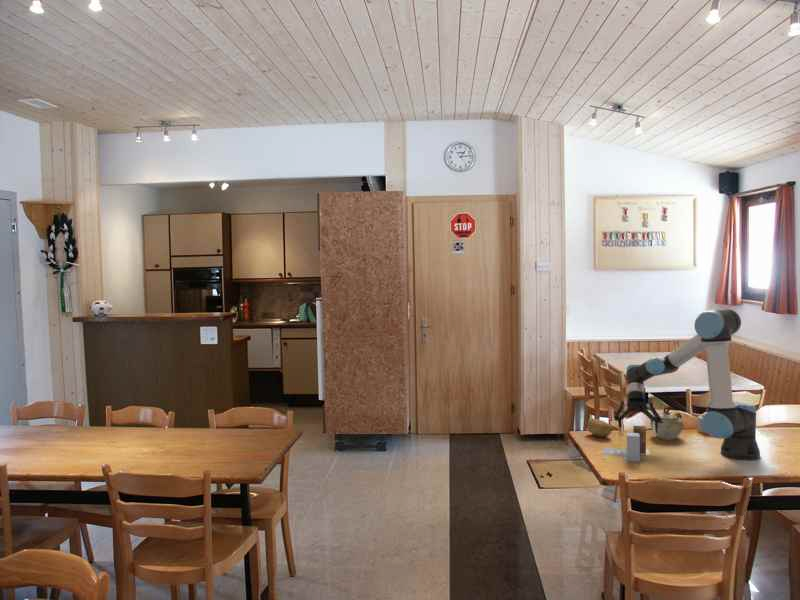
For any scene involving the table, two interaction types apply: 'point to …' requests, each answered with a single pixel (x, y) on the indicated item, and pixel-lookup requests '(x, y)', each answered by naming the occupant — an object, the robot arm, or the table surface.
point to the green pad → (646, 453)
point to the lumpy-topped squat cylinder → (701, 424)
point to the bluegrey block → (633, 447)
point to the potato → (599, 427)
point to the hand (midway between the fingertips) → (638, 434)
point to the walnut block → (641, 437)
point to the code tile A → (614, 451)
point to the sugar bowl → (669, 425)
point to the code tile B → (632, 461)
